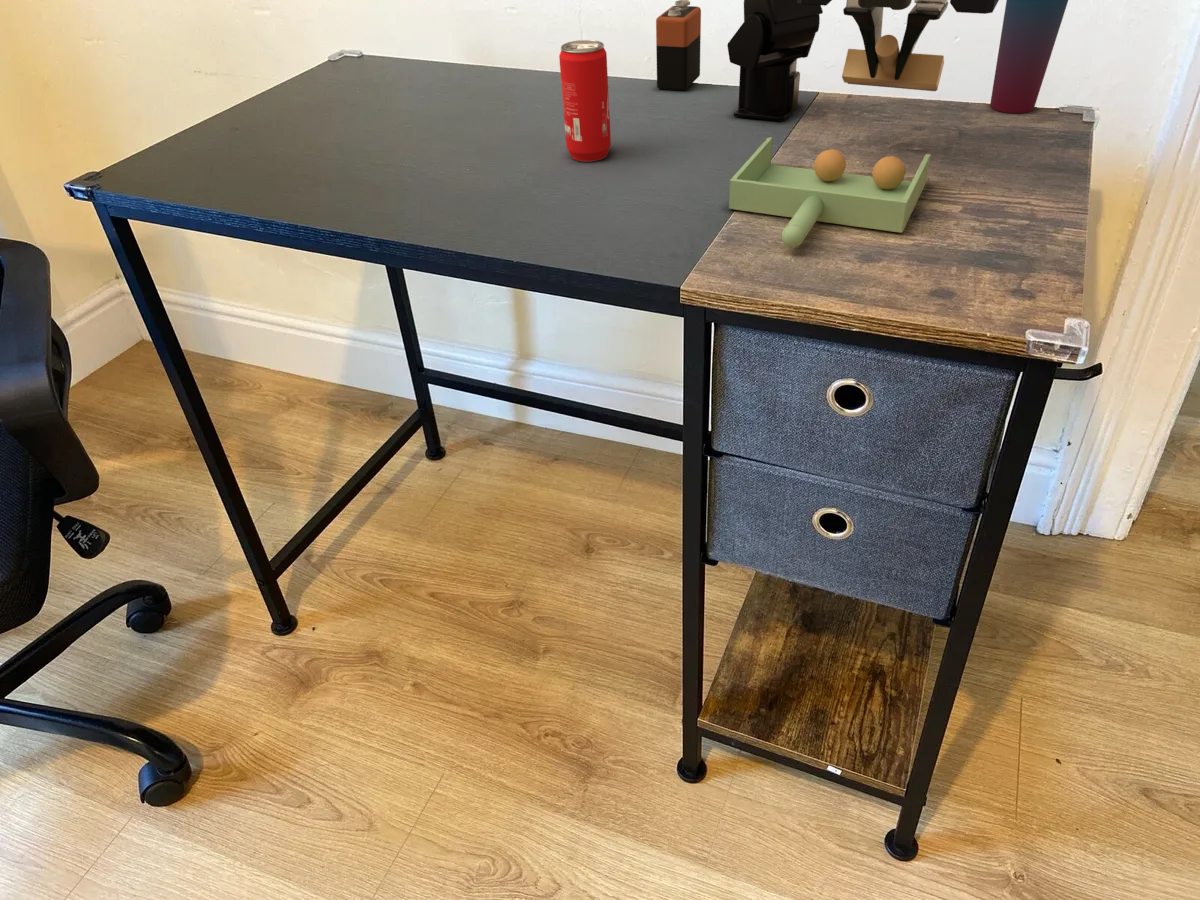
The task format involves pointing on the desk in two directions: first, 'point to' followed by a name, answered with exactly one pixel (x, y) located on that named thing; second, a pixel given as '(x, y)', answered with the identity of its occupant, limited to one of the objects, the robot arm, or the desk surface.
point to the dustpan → (821, 196)
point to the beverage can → (585, 99)
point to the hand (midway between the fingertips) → (885, 78)
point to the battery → (678, 46)
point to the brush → (893, 68)
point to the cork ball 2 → (888, 172)
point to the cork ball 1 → (829, 165)
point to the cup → (1025, 52)
